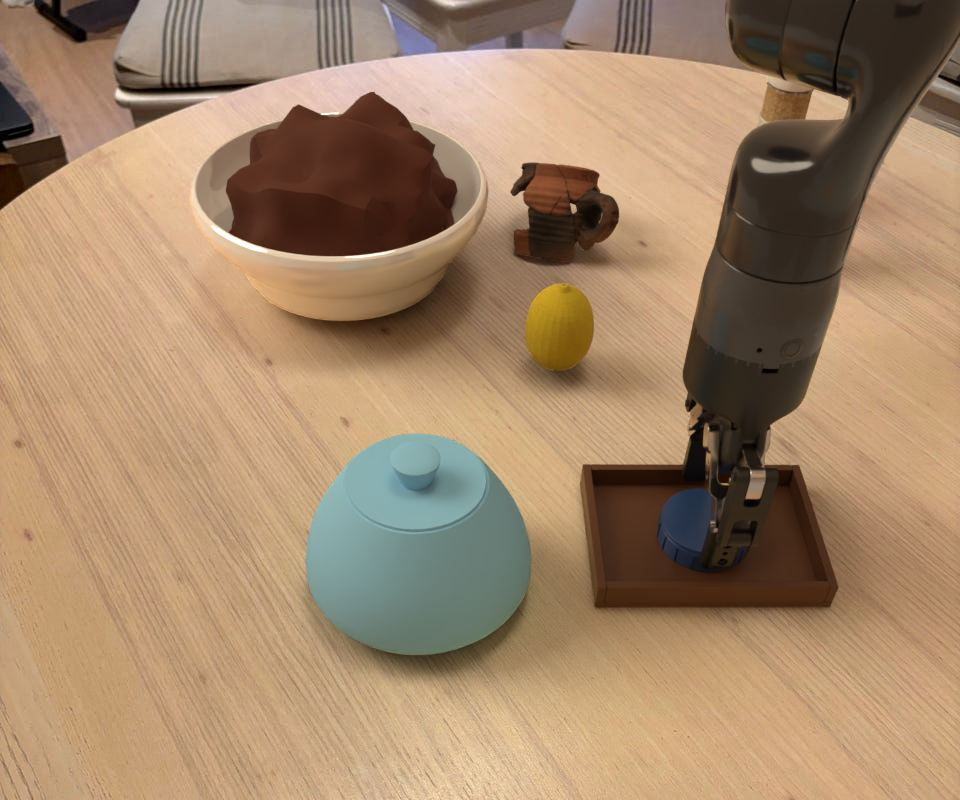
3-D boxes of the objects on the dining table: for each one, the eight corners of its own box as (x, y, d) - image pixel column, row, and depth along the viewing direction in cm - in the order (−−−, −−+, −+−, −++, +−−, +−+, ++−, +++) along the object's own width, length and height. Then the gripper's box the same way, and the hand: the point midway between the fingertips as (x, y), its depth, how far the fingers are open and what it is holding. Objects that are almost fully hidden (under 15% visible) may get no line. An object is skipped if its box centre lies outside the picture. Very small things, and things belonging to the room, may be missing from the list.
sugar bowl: (570, 617, 69) (588, 490, 59) (369, 705, 64) (355, 582, 55) (462, 483, 76) (463, 353, 67) (275, 552, 72) (250, 422, 63)
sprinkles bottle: (791, 210, 103) (830, 68, 92) (749, 215, 102) (784, 72, 91) (773, 188, 105) (809, 47, 95) (732, 192, 105) (763, 51, 94)
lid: (651, 563, 71) (656, 544, 70) (661, 500, 75) (666, 481, 74) (745, 579, 70) (752, 561, 69) (751, 515, 74) (757, 496, 73)
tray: (792, 484, 77) (799, 464, 76) (830, 606, 70) (839, 587, 68) (579, 484, 77) (582, 463, 75) (594, 607, 69) (598, 587, 68)
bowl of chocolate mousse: (158, 331, 87) (113, 156, 76) (279, 191, 102) (256, 27, 91) (434, 390, 83) (431, 215, 71) (518, 236, 98) (527, 70, 86)
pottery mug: (483, 252, 97) (493, 157, 94) (540, 258, 104) (551, 171, 101) (588, 265, 91) (602, 164, 88) (641, 271, 98) (656, 178, 95)
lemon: (601, 371, 85) (613, 286, 79) (556, 399, 83) (565, 313, 77) (553, 342, 88) (561, 257, 82) (508, 368, 85) (513, 283, 79)
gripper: (678, 252, 63) (640, 453, 76) (716, 398, 54) (666, 597, 67) (797, 253, 63) (740, 453, 76) (855, 399, 55) (779, 597, 67)
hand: (705, 520), depth 72 cm, fingers open, 8 cm apart
